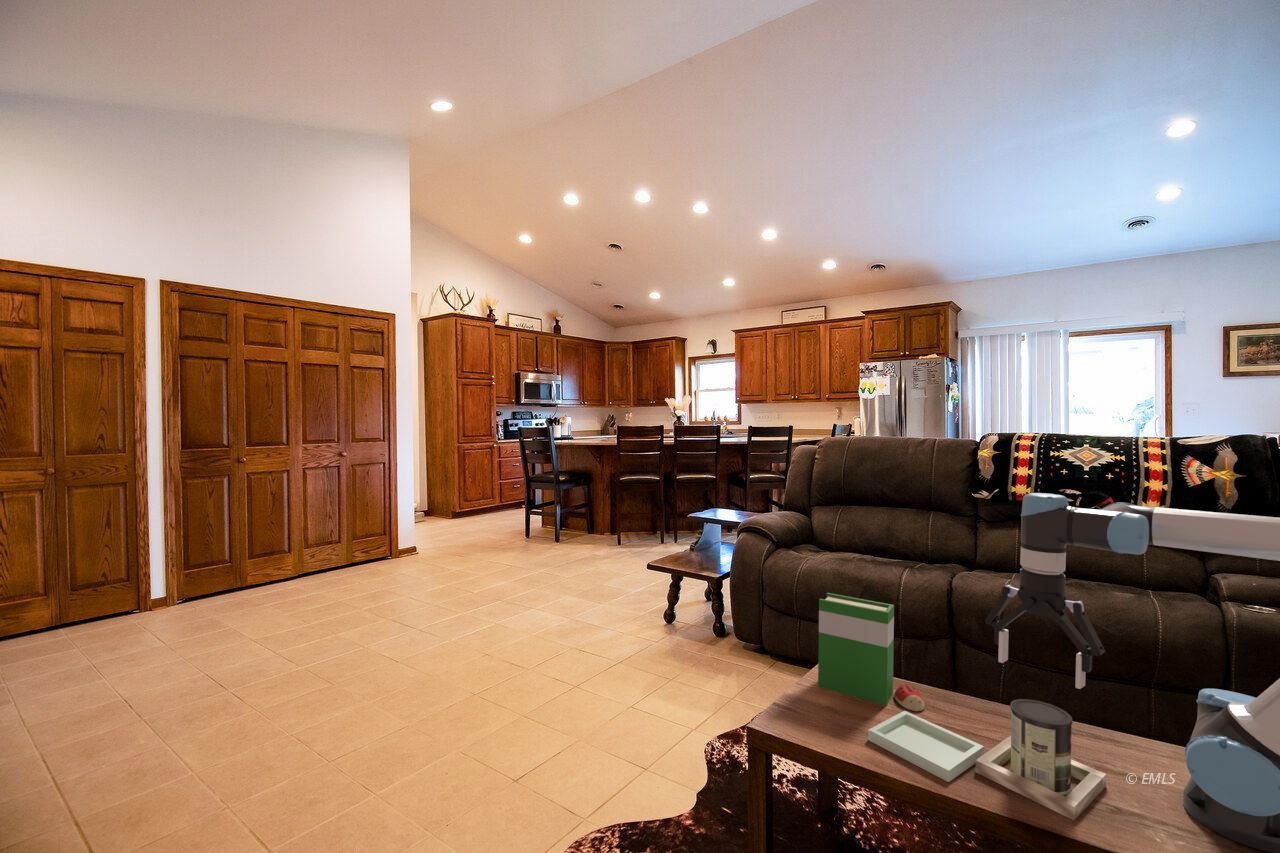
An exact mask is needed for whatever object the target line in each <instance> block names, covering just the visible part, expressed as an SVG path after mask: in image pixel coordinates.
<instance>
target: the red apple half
mask: <svg viewBox="0 0 1280 853" xmlns="http://www.w3.org/2000/svg"><path fill="white" fill-rule="evenodd" d="M894 700H895V701H896V702H897V703H898V704H899V705H900V706H901V707H903V708H904V709H906V710H909V711H913V712H920V711H921V712H922V711H923V710H924V709H925V708H926V703H925V700H924V698H923V696H922V695H921V693H920V692H919V691H918V690H917V689H916V688H914V687H913V686H911V685H908V684H901V685H899V686H898V687H897V688H896V689H895V692H894Z"/></svg>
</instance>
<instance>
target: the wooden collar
mask: <svg viewBox="0 0 1280 853" xmlns="http://www.w3.org/2000/svg"><path fill="white" fill-rule="evenodd" d="M1009 760H1011V734H1010V735H1009V736H1008V737H1006V738H1005V739H1004V740H1002V741H1000V742H999V743H998V744H997V745H995V746H994V747H992V748H991V749H989V750H988V751H987V752H984V755H982V756H981V757H980V758H978V759H977V760H976V763H975V773H976V774H978V775H980V776H982V777H985V778H987V779H989V780H990V781H993V782H995V783H997V784H999V785H1001V786H1003V787H1005V788H1006V789H1008V790H1010V791H1013V792H1015V793H1016V794H1017V793H1018V794H1019V795H1021V796H1023V797H1025V798H1027V799H1029V800H1031V801H1034V802H1036V803H1037V804H1039V805H1042V806H1043V807H1046V808H1047V809H1050V810H1052V811H1054V812H1055V813H1058V814H1060V815H1062V816H1064V817H1066V818H1068V819H1070V820H1072V821H1075V820H1077V819H1078V817H1079V816H1080V815H1081V814H1082V813H1083V812H1084V811H1085V810H1086V808H1087V807H1089V805H1091V803H1092V802H1093V801H1094V800H1095V799H1096V798H1097V797H1098V796H1099V794H1101V792H1103V790H1104V789H1106V787H1107V773H1104V772H1102V771H1101V770H1097V769H1095V768H1094V767H1093V768H1092V767H1091V766H1088V765H1085V764H1083V763H1081V762H1078V761H1076V760H1074V759H1072V758H1071V778H1074V779H1077V780H1078V781H1080V782H1079V783H1078V784H1077V785H1076V786H1075V787H1074V788H1073V789H1071V792H1070V793H1069V794H1066V795H1060V794H1058V793H1056V792H1054V791H1052V790H1050V789H1048V788H1045V787H1043V786H1041V785H1039V784H1037V783H1035V782H1033V781H1030V780H1028V779H1026V778H1024V777H1022V776H1020V775H1018V774H1015V773H1013V772H1011V771H1010V769H1007V768H1005V767H1003V765H1004V764H1006V763H1007V762H1008V761H1009Z"/></svg>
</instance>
